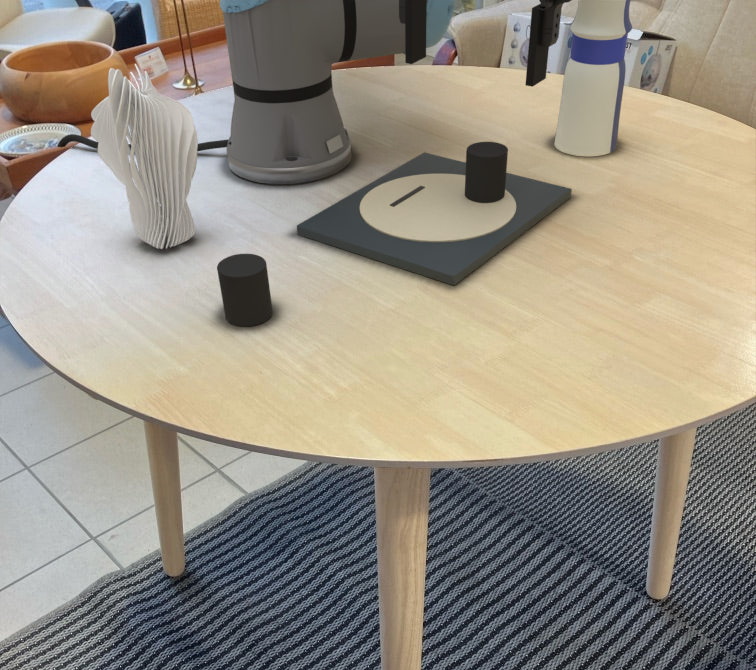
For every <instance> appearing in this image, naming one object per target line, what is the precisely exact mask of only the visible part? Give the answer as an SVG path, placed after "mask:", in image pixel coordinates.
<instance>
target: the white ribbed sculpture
mask: <svg viewBox="0 0 756 670" xmlns="http://www.w3.org/2000/svg"><path fill="white" fill-rule="evenodd" d="M134 67H135V69H136V71H137V73H138V77H139V79H140V83H141V86H140V84H139V82H138V81H137V78H136V76H135V75H134V73H133V71H130V72H129V74H130V76H131V78H132V79H133V80H134V82H135V83H136V86H137V88H136V86H135V85H134V84H133V83H132V82H131V80H130V79H128V76H126V75H125V76H124V74H123V72H122V70H121V69H119V68H117V69H115V68H113V67H110V68H109V71H108V75H107V85H108V86H107V87H108V96H106V97H105V98H103V99H102V101H100V102H98V104H97V105H95V106H94V108H93V109H92V110H91V113H90V116H91V119H92V121H93V123H92V126H91V128H90V136H91V138H92V139H93V140H94V141H96V142H99V143H98V149H97V154H98V156H99V158H100V159H101V161H102V162H103V163H104V164H105V165H106V166H107V167H108V169H109V170H110V171H111V173H112V174H113V175H114V176H115V178H116V180H118V181H119V182H120V183H121V184H123V185H124V187H125V191H126V197H127V200H128V201H127V202H128V203H129V205H128V207H129V214H130V219H131V223H132V227H133V230H134V232H135V234H136V235H137V236H138V238H139V239H140V240H142V241H143V242H144V243H146V244H148V245H150V246H151V247H153V248H156V249H160V250H163V249H164V248H165V249H166V250H167V249H168V248H172V247H175V246H178V245H181V244H182V243H185V242H187V241H189V240H190V239H192V238H193V237H194V235H195V230H196V228H195V222H194V218H193V216H192V212H191V210H190V207H189V204H188V201H187V199H188V196H189V194H190V190H191V187H192V182H193V179H194V176H195V173H196V169H197V164H198V152H197V147H198V144H199V138H198V137H199V136H198V132H197V127H196V126H195V123H194V119H193V118H194V117H193V115H192V113H191V112H190V110H189V109H188V107H186V105H184V104H183V103H182V102H180V101H179V100H177V99H174V98H172V97H169V96H168V95H164V94H163V93H160V92H159V91H158V89H157V88H156V87H154V85H153V82H152V80H151V77H150V76H149V74H148V71H147V70H144V75H145V77H144V76H143V74H142V72H141V69H140V68H139V67H138V65H137V63H134ZM129 144H131V150H130V147H129ZM135 159H136V160H135Z"/></svg>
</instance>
